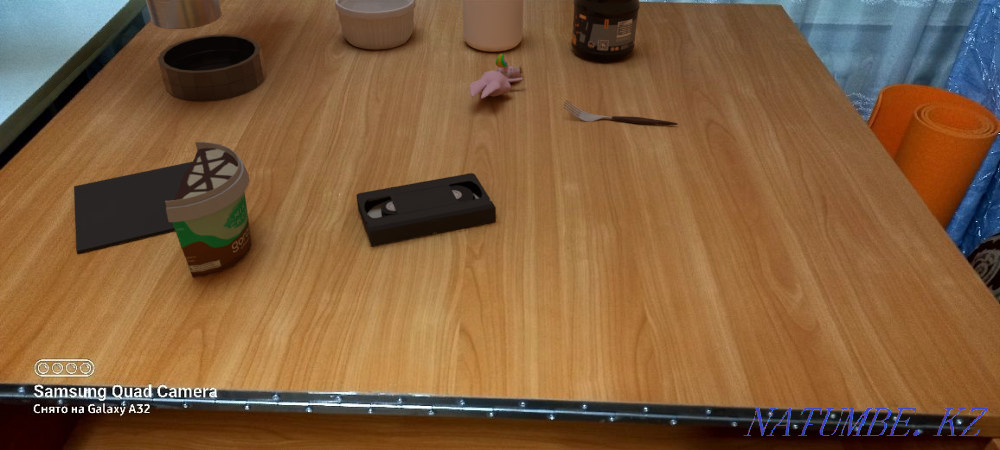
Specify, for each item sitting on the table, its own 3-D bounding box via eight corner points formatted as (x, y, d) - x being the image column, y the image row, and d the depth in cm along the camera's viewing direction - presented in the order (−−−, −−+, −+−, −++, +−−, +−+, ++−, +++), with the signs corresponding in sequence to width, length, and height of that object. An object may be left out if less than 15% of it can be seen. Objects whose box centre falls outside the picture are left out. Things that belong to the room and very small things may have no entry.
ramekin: (403, 20, 135) (401, -19, 131) (428, 46, 125) (426, 5, 121) (331, 30, 130) (326, -9, 126) (351, 58, 121) (346, 16, 117)
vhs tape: (474, 186, 90) (473, 172, 89) (495, 221, 84) (495, 207, 83) (357, 207, 86) (355, 193, 85) (371, 246, 80) (369, 231, 79)
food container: (251, 284, 75) (231, 202, 69) (188, 287, 74) (163, 204, 68) (271, 214, 85) (255, 137, 79) (216, 216, 84) (196, 139, 78)
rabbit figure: (494, 80, 118) (455, 105, 105) (496, 42, 115) (457, 63, 102) (531, 86, 116) (496, 112, 103) (534, 48, 113) (499, 70, 100)
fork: (677, 131, 102) (679, 118, 101) (562, 119, 104) (563, 107, 103) (677, 123, 104) (679, 110, 103) (564, 111, 106) (565, 98, 105)
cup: (480, 28, 132) (479, -29, 126) (531, 38, 128) (533, -20, 123) (453, 47, 125) (451, -12, 119) (506, 58, 121) (507, -2, 115)
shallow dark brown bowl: (161, 73, 115) (153, 43, 112) (256, 58, 120) (250, 28, 117) (172, 112, 105) (163, 80, 102) (275, 93, 110) (269, 62, 107)
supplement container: (580, 35, 129) (585, -34, 122) (640, 44, 126) (648, -27, 119) (562, 58, 121) (567, -15, 114) (625, 68, 118) (634, -7, 111)
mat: (74, 188, 89) (73, 186, 88) (197, 163, 94) (196, 160, 93) (77, 254, 78) (76, 251, 78) (214, 221, 84) (213, 218, 83)
